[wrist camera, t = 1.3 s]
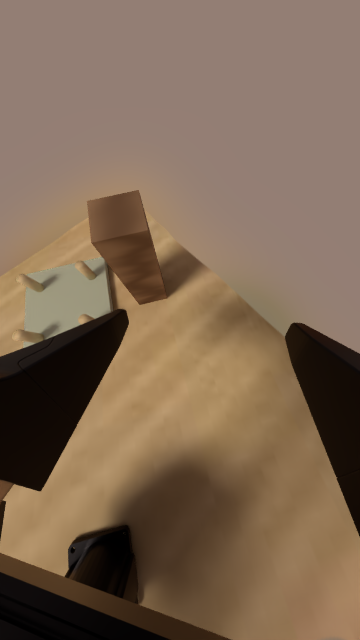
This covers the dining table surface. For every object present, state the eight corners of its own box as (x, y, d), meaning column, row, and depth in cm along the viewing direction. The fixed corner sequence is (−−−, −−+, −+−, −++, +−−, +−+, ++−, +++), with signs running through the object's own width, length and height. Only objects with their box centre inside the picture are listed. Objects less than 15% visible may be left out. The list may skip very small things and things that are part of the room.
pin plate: (29, 365, 22) (-3, 365, 18) (32, 277, 26) (6, 262, 23) (117, 343, 23) (103, 339, 19) (106, 260, 27) (93, 243, 23)
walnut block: (139, 304, 24) (91, 242, 12) (135, 280, 26) (87, 201, 13) (167, 298, 24) (148, 229, 12) (161, 274, 26) (138, 190, 13)
